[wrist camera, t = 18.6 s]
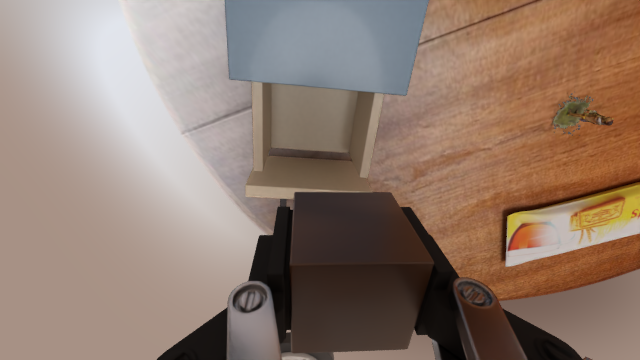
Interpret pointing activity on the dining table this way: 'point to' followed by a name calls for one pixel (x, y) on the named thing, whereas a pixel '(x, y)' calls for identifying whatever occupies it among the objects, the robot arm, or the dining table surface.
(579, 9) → the dining table surface
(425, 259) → the block
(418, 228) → the robot arm
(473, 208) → the dining table surface
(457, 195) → the dining table surface
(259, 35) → the cabinet
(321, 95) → the drawer
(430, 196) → the dining table surface
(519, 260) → the food package
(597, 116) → the soldier figurine
